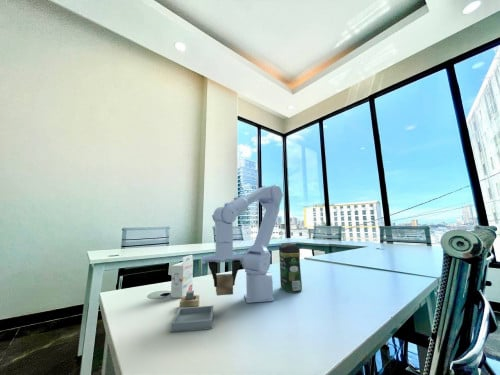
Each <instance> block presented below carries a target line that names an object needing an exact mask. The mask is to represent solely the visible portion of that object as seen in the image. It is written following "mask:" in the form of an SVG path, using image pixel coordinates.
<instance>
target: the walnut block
mask: <svg viewBox="0 0 500 375" xmlns="http://www.w3.org/2000/svg"><path fill="white" fill-rule="evenodd" d="M216 280H217V287H215V293H216V296H231V295H234V285H233V276H232V273H224V274H223V273H222V274H221V273H220V274H216Z"/></svg>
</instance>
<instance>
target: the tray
mask: <svg viewBox="0 0 500 375" xmlns="http://www.w3.org/2000/svg"><path fill="white" fill-rule="evenodd" d="M213 318H214V305H204V306H199V307H188V308H180V307H179V308H178V310H177V312H176V314H175V316H174V318H173V320H172V322H171V327H170V329H171V330H170V332H171V333H179V332H187V331H188V332H189V331H199V330H210V329H211V330H212V329H213V322H214V321H213V320H214V319H213Z"/></svg>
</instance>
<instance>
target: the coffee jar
mask: <svg viewBox="0 0 500 375" xmlns="http://www.w3.org/2000/svg"><path fill="white" fill-rule="evenodd" d="M278 251H279V252H278V256H279V274H280V287H281V289H282V290H283V291H284V292H287V293H288V292H289V293H299V292H300V291H301V292H302V290H303V281H302V272H301V260H300V257H301V252H300V247H299V245H297V244H294V243H290V242H285V243H284V242H282V243H281V244H280V245H279V246H278Z"/></svg>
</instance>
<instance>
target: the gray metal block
mask: <svg viewBox="0 0 500 375" xmlns="http://www.w3.org/2000/svg"><path fill="white" fill-rule="evenodd" d="M194 295H195V290H192V291H187V293H186V300H194Z"/></svg>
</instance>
